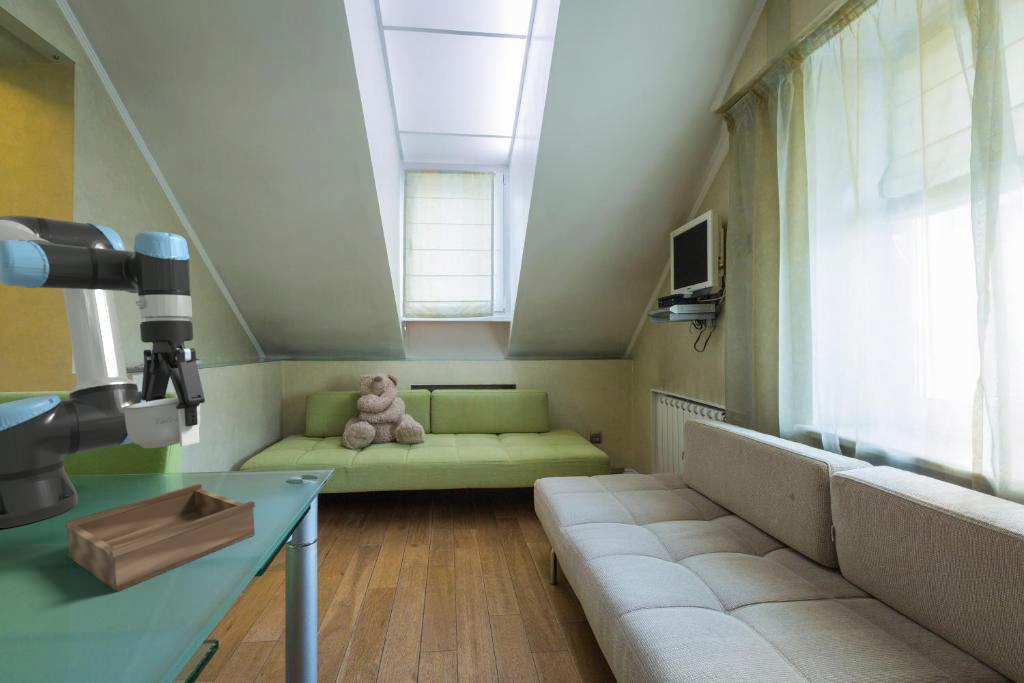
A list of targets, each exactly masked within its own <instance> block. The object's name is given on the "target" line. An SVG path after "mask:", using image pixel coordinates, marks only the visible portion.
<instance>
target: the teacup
mask: <svg viewBox="0 0 1024 683" xmlns="http://www.w3.org/2000/svg"><path fill="white" fill-rule="evenodd" d="M178 404H180V403H179V400H178V397H169V398H167V399H161V400H155V401H148V402H143V403H137V404H133V405H128V406H125V407H123V408H122V409H123V411H124V415H125V422H126V428H127V433H128V436H129V439H130V440H131V441H132V443H133V444H135V445H137V446H140V447H141V448H144V449H157V448H164V447H169V446H173V445H178V444H180V435H179V419H178V409H177V408H176V407H177V406H178ZM201 404H202V403H200V404H199V406H197V408H198V424H199V429H200V427H201Z"/></svg>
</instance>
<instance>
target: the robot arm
mask: <svg viewBox="0 0 1024 683" xmlns="http://www.w3.org/2000/svg"><path fill="white" fill-rule="evenodd" d="M190 278H191V276H190V254H189V249H188V243H187V240H186V239H185V237H183V236H181V235H179V234H175V233H171V232H161V231H143V232H138V233H137V234H135V236H134V246H133V251H132V250H131V251H130V250H126V248H125V245H124V242H123V240H122V238H121V236H120V235H119V234H118V233H117V231H115V230H114V229H112V228H111V227H110V226H109V227H108V226H103V225H98V224H94V223H91V222H90V223H89V222H87V223H83V222H75V221H68V220H60V219H50V218H44V217H37V216H30V215H14V214H13V215H1V216H0V283H1V284H2V285H4V286H8V287H20V288H21V287H23V288H27V289H37V288H38V289H39V288H42V289H62V290H63V298H64V304H65V312H66V318H67V325H68V331H69V336H70V337H69V338H70V345H71V349H72V350H71V351H72V357H73V358H72V359H73V364H74V370H75V371H74V372H75V378H76V386H75V387H74V388H73V389H71V391H70V392H69V394H68V395H69V399H68V400H61V398H60V396H59V395H55V394H54V395H51V394H49V395H42V396H41V395H40V396H34V397H29V398H23V399H18V400H17V399H16V400H12V401H9V402H3V403H0V528H3V529H8V528H13V527H18V526H23V525H27V524H32V523H36V522H39V521H43V520H46V519H49V518H53V517H56V516H57V515H61V514H62V513H65V512H67V511H69V510H71V509H73V508H75V507H76V506H77V505H78V504H79V501H78V500H79V499H78V498H79V497H78V491H77V490H76V488H75V486H74V484H73V483H72V481H71V479H70V478H69V476H68V474H67V472H66V471H65V465H64V457H65V456H70V455H74V454H79V453H86V452H91V451H96V450H101V449H106V448H113V447H121V446H123V445H128V444H132V443H133V442H132V441H131V440H130V439H129V436H128V433H127V428H126V422H125V415H124V411H123V409H122V408H123V407H125V406H128V405H133V404H137V403H143V402H148V401H155V400H161V399H168V398H167V397H166V394H167V391H168V390H167V389H168V385H169V382H170V380H171V383H172V386H173V389H174V392H175V394H176V396H177V397H178V400H179V403H180V404H178V406H177V407H176V408H177V409H178V419H179V435H180V443H179V447H185V446H191V445H195V444H199V443H200V431H199V430H200V428H199V424H198V408H197V406H199V404H203V403H204V404H205V402H206V398H205V394H204V390H203V386H202V385H203V384H202V381H201V377H200V373H199V372H200V371H199V368H198V363H197V355H196V354H197V353H196V349H195V348H186V347H185V342H190V341H193V340H194V327H193V322H192V321H190V319H191V318H192V317H193V307H192V305H193V304H192V302H193V301H192V295H191V281H190V280H191V279H190ZM114 291H117V292H120V291H121V292H127V293H130V294H137V297H138V300H136V302H135V306H136V307H138V308H139V318H141V319H143V320H144V321H141V322H140V324H139V329H140V330H139V331H140V332H139V334H140V340H141V342H142V343H146V344H147V343H148V344H149V343H152V348H151V349H144V350H143V373H142V384H141V391H140V390H139V387H138V384H137V382H135V381H133V380H131V379H130V378H128V372H127V367H126V362H125V355H124V349H123V343H122V336H121V331H120V325H119V318H118V314H117V305H116V301H115V294H114ZM177 397H176V398H177Z"/></svg>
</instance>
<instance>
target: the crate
mask: <svg viewBox="0 0 1024 683" xmlns="http://www.w3.org/2000/svg"><path fill="white" fill-rule="evenodd" d="M255 506H256V505H255V502H254V501H252V500H251V501H247V502H244V503H242V502H240V501H236V500H234V499H230V498H228V497H226V496H222V495H219V494H215V493H213V492H210V491H207V490H204V489H203V488H202V484H200V483H197V484H193V485H190V486H187V487H183V488H179V489H176V490H173V491H169V492H166V493H161V494H158V495H155V496H152V497H148V498H144V499H141V500H138V501H133V502H131V503H127V504H123V505H121V506H117V507H113V508H109V509H106V510H103V511H100V512H99V511H98V512H95V513H93V514H88V515H86V516H81V517H78V518H75V519H72V520H71V519H70V520H68V521H65V522H64V527H65V528H66V532H67V546H68V547H67V548H68V557H69V558H70V559H71V560H73V561H74V562H75V563H76V564H78V565H79V566H81V567H82V568H84V569H85V570H86V571H88V572H89V573H90V574H92V575H93V576H94V577H96V578H97V579H99V580H100V581H101V582H103V583H104V584H106V585H107V586H108V587H109V588H111V589H112V590H113V591H114V592H116V593H118V592H120V591H122V590H125V589H128V588H130V587H132V586H135V585H137V584H139V583H140V584H141V583H143V582H144V581H146V580H149V579H152V578H155V577H157V576H159V575H161V574H164V573H166V572H169V571H172V570H174V569H176V568H179V567H181V566H183V565H185V564H188V563H190V562H193V561H195V560H198V559H199V558H202V557H206V556H208V555H209V554H213V553H215V552H217V551H219V550H222V549H224V548H227V547H229V546H231V545H233V544H234V545H235V544H236V543H238V542H241V541H243V540H246V539H249V538H251V537H254V536H255V533H256V532H255V519H254V517H255V516H254V514H255V513H254V508H255Z"/></svg>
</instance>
